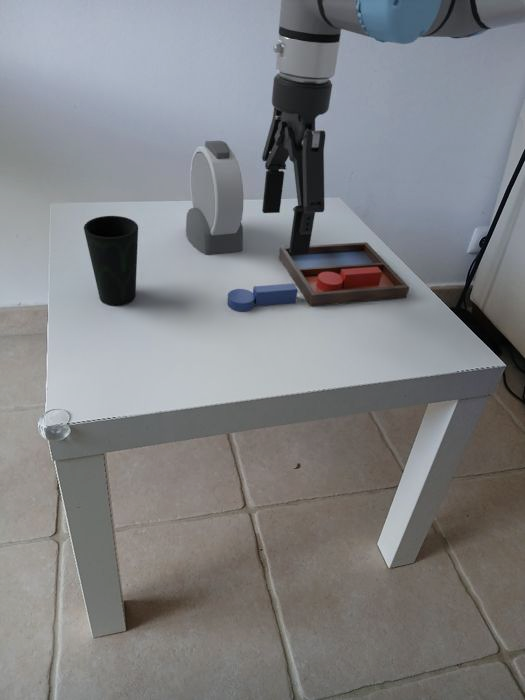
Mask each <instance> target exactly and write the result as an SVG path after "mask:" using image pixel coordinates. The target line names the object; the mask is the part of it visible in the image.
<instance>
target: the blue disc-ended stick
mask: <svg viewBox="0 0 525 700" xmlns="http://www.w3.org/2000/svg"><path fill="white" fill-rule="evenodd" d="M298 290H299V288H298V287H297V285H296V283H295V282H293V283H281V284H268V285H267V284H266V285H255V286H253V288H252V291H251V290H249V289H246V288H235V289H232V290H230V291H229V292H228V293H227V298H226V299H227V300H226V303H227V306H228V307H229V309H231V310H233V311H236V312H248V311H251V310H252V309H254V307H260V306H272V305H284V304H285V305H286V304H295V303H297V298H298V297H297V296H298Z"/></svg>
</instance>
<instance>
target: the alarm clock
mask: <svg viewBox="0 0 525 700" xmlns="http://www.w3.org/2000/svg"><path fill="white" fill-rule="evenodd" d="M189 187H190V198H191V204H192V207H191V208H189V209H188V211H187V213H186V217H185V218H186V219H185V220H186V222H185V236H186V238H187V240H188V242H189V243H190V244H191V246H193V247H194V248H195V249H196V250H197V251H198V252H200V253H202V254H203V255H205V256H211V255H219V254H220V255H221V254H230V253H238V252H242V251H243V247H244V245H243V244H244V226H243V224H242V220H243V214H244V213H243V212H244V199H245V198H244V196H245V195H244V185H243V179H242V171H241V169H240V165H239V161H238V160H237V156H236V155H235V153H234V152H233V150H232V149H231V148H230V147H229V145H228V144H227V142H225V141H223V140H206V141H205V142H204V145H201V146H200V145H199V146H198V147H196V149H195V151H194V152H193V155H192V157H191V162H190V173H189Z"/></svg>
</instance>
